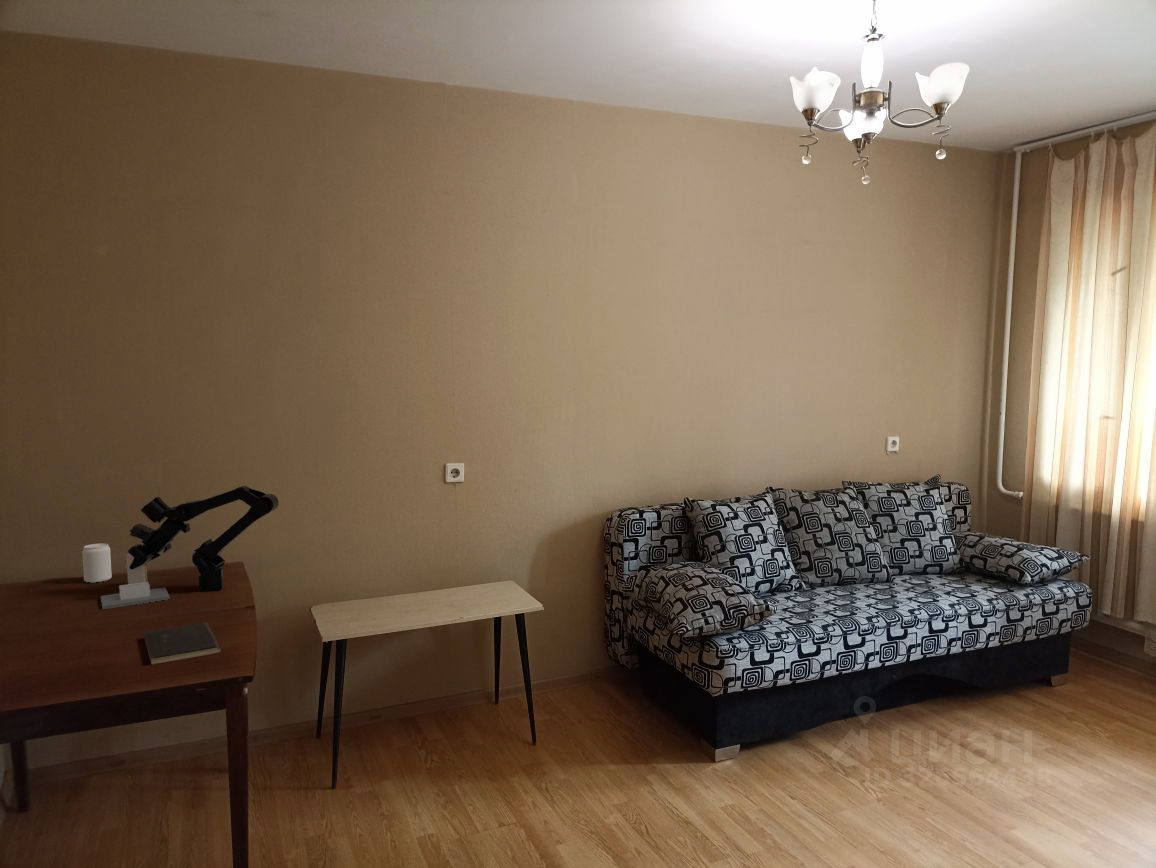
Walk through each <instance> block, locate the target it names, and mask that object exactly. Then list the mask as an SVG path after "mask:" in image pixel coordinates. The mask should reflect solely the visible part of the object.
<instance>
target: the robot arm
mask: <svg viewBox="0 0 1156 868" xmlns="http://www.w3.org/2000/svg"><path fill="white" fill-rule="evenodd" d="M239 500H240V501H242V502H243V503H245V504H247V506H249V509H248V511H247V512H246V513H245V514H244V515H243V516H242V517H240V518H239V519H238V520H237V521H235V523H234V524H232V525H231V526H230V527H229V528H228V529H227V530H226V531H224V532H222V534H221V535H219V536H218V537H217V538H216V539H215V540H212V538H208V539H207V540H205V541H204V542H203V543H201V545H200V546H199V547H197V548H196V549H194V550H193V551H194V552H193V554H192V556H191V560H192V564H194V566H196V568H197V571H198V573H199V576H198V588H199V592H211V590H215V591H222V590H223V589H224V588H225V586H226V585H225V582H224V567H225V565H226V564H225V563H226V559H224V558H223V557H221V554H222V553H223V551H224V550H225V548H226V547H227V546H228V545H230V544H231V543H232V542H233V541H234V540H235V539H237V538H238V537H239V536H240V535H241V534H242V533H244V532H245V531H246V530H247V529H248V528H250V527H251V526H252V525H253V524H254V523H255V522H256V521H257V520H259V519H262V518H263V517H265V516H267V515H268V514H270V513H271V512H273V511H274V510H276V509H277V508H278V507H279V499H278V497H277V496H276V495H275V494H273V493H266V492H263V491H259V490H258V489H253V488H251V487H249V486H247V485H241V486H239V487H237V488H234V489H232V490H229V491H226V492H223V493H219V494H217V495H214V496H211V497H208V498H204V499H203V498H202V499H195V500H194V499H193V500H189V501H185V502H184V503H181V504H179V505H177V506H172V507H170V506H169V505H168V504H167V503H166V502H165V501H163V499H162V498H161V497H160V496H155V497H154V498H153V499H152V500H151V501H149V502H148V503H147V504H145V505H144V506H143V507H142V508H141V509H140V512H141V513H142V514H143V515H144V516H145V517H146V518H148V520H150V521H151V522H152V523H153V524H157V523H158V524H160V525H159V526H158V528H156V529H154V528H151V527H149V526H147V525H145V524H143V523H142V524H141V523H138V524H135V525H133V527H132V528H131V529H130V530H129V532H130V533H129V534H130V536H131V537H132V538H133V537H135V538H137V539H139V540H142V541H141V543H142V544H140V543H139V544H134V545H132V546H131V547H130V548H129V549H128V550H127V553H129V554H131V555H132V556H133V557H134V559H133V561H132V563H131V565H130V567H129V568H130V569H131V570H132V569H134V568H137V567H139V566H141V565H143V564H145V563H146V564H147V563H149V562H151V561H154V560H155V559H157V558H159V557H160V556H161V554H160V553H163V554H166V553H168V552H169V551H170V550H171V549H172V544H171V543H172V542H173V541H174V540H175V538H176V537H177V536H178V534H180V532H181V531H182V533H184V534H186V533H188V532H190V531H191V527H190V525H191V524H190V523H188V521H190V520H193V519H195V518H197V517H199V516H201V515H203V514H204V513H206V512H208V511H209V510H213V509H216V508H219V507H221V506H225V505H228V504H230V503H234V502H236V501H239ZM186 522H187V523H186ZM224 585H225V586H224ZM222 588H223V589H222Z"/></svg>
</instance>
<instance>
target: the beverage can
mask: <svg viewBox="0 0 1156 868" xmlns="http://www.w3.org/2000/svg"><path fill="white" fill-rule="evenodd" d="M81 553H82V567H83V568H82V569H83V581H84V582H86V583H88V582H90V583H89V584H97V583H96V582H99V583H103V581H104V582H107V581H108V580H111V578H112V576H113V574H112V562H111V560H112V558H111V557H112V556H111V546H109V543H102V542H101V543H93V544H86V545H84V546H83V549H82V552H81Z"/></svg>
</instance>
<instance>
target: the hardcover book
mask: <svg viewBox="0 0 1156 868" xmlns="http://www.w3.org/2000/svg"><path fill="white" fill-rule="evenodd" d="M142 636H143V639H144V643H145V647H146V650H147V653H148V657H149V661H150V664H151V665H156V664H162V663H167V662H173V661H180V660H184V659H189V658H190V659H191V658H196V657H202V656H209V655H214V654H219V653H220V654H221V653H222V651H223V649H222V647H221V645H220V643H219V641H218V639H217V637H216V635H215V633H214V631H213V629H212V628H211V625H210V624H209V623H208V622H207V621H206V622H201V623H195V624H189V625H181V626H176V627H175V626H174V627H168V628H163V629H162V628H161V629H154V630H149V631H148V630H147V631H143V632H142Z"/></svg>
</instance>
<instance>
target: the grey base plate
mask: <svg viewBox="0 0 1156 868" xmlns="http://www.w3.org/2000/svg"><path fill="white" fill-rule="evenodd" d="M150 586H151V584H149V581H147V582H143V583H135V584H128V583H127V584H122V585H121V584H120V585H119V586H118V589H119V592H118V593H113V594H107V595H106V594H105V595H101V596H100V601H101V603H102V604H101V603H100V604H101V607H102V610H106V609H107V610H108V609H114V608H120V607H129V605H130V606H136V604H137V605H143V603H144V604H149V602H151V603H156V602H155V601H158V602H162V601H161V600H165V601H169V600H168V599H171V598H170V594H169V593H168V590H167V588H166V587H165V586H164V587H159V588H151V587H150Z"/></svg>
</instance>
